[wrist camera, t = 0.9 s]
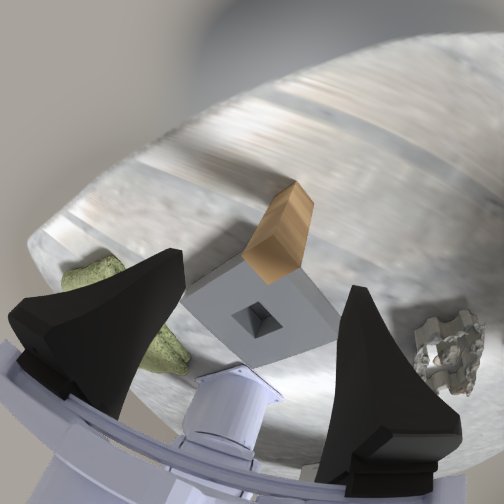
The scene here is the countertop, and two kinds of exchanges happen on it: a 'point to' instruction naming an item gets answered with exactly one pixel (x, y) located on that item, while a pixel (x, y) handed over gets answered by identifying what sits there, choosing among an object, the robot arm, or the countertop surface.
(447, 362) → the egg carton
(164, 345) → the washcloth
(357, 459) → the robot arm
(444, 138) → the countertop surface
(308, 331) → the charcoal socket block
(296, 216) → the oak peg
